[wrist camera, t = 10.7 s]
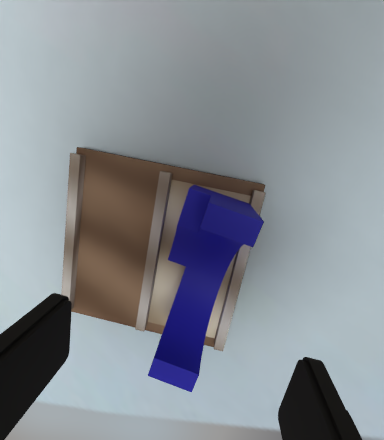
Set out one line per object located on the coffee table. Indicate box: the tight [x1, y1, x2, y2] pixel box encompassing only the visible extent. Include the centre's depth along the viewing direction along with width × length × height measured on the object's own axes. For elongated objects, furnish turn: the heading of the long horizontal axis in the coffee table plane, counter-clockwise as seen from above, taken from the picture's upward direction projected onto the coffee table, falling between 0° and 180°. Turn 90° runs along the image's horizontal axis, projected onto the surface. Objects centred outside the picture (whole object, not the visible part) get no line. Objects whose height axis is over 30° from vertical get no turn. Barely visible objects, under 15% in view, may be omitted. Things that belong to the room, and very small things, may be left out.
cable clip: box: [148, 185, 264, 392], centre depth 17 cm, size 12×4×6 cm, turn 162°
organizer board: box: [61, 147, 265, 351], centre depth 20 cm, size 15×15×2 cm
